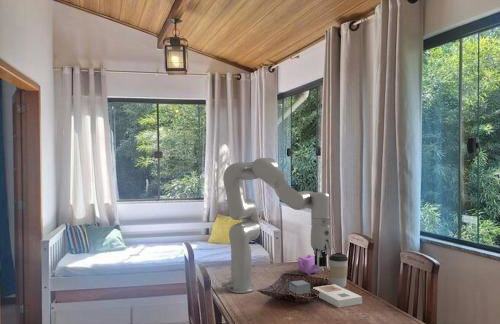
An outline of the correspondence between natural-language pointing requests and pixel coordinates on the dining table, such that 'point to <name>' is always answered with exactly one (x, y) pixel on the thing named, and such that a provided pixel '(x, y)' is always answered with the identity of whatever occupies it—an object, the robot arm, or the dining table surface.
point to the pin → (318, 261)
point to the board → (338, 296)
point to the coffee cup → (338, 269)
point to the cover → (299, 287)
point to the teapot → (307, 264)
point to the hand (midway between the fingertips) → (320, 264)
